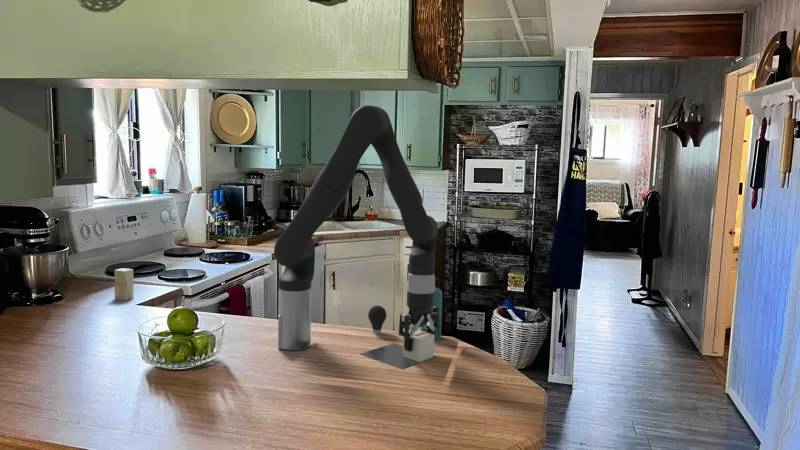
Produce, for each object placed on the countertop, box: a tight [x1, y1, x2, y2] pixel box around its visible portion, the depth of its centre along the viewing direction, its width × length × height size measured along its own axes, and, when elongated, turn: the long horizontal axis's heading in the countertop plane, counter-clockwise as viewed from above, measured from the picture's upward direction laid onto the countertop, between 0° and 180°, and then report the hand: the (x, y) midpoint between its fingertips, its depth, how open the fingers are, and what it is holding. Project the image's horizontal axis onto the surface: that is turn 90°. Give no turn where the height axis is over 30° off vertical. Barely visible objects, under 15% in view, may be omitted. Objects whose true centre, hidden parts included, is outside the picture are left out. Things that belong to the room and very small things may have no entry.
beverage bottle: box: [419, 276, 443, 341], centre depth 180 cm, size 6×7×20 cm
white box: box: [402, 329, 435, 362], centre depth 163 cm, size 6×6×6 cm
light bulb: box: [367, 305, 387, 335], centre depth 184 cm, size 6×6×10 cm
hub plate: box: [359, 342, 437, 371], centre depth 164 cm, size 14×16×6 cm
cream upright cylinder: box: [114, 267, 134, 301], centre depth 220 cm, size 5×4×11 cm
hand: (418, 347), depth 164 cm, fingers open, 8 cm apart
